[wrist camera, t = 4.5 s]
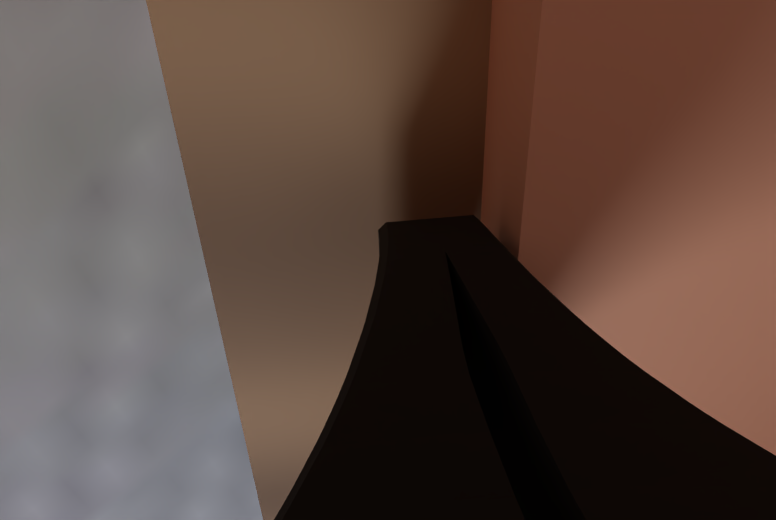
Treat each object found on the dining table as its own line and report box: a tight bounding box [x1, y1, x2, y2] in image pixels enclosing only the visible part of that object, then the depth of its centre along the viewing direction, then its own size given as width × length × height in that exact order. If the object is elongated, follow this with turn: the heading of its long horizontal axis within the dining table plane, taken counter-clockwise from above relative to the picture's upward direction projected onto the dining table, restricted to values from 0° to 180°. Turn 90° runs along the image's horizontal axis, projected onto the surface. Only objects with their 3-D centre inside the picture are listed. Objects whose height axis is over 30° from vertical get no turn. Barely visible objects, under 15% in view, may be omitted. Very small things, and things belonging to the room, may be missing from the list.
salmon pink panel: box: [481, 0, 776, 455], centre depth 10 cm, size 9×6×2 cm, turn 2°
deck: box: [146, 0, 492, 520], centre depth 12 cm, size 18×12×4 cm, turn 1°
